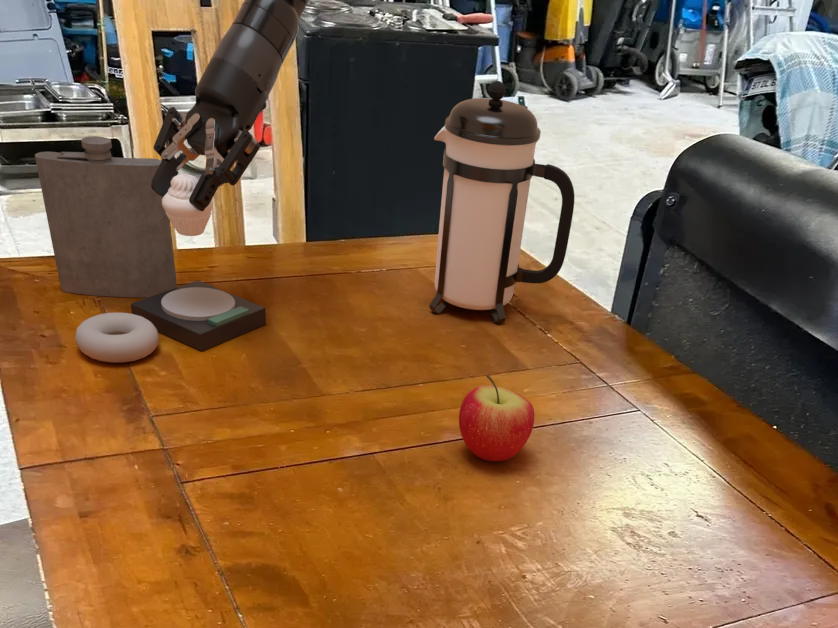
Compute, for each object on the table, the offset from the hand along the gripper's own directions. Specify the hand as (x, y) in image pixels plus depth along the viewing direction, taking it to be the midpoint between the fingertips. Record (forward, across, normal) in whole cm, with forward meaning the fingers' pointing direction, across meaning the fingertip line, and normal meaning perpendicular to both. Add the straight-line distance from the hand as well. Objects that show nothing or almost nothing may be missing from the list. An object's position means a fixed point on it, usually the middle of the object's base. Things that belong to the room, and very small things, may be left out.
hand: (176, 199), depth 109 cm
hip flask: (+11, -15, +13) cm, 23 cm away
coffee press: (-14, +24, +38) cm, 46 cm away
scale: (+10, 0, +13) cm, 17 cm away
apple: (+11, +48, +13) cm, 51 cm away
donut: (+19, -1, +4) cm, 20 cm away
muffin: (+2, 0, +4) cm, 5 cm away
